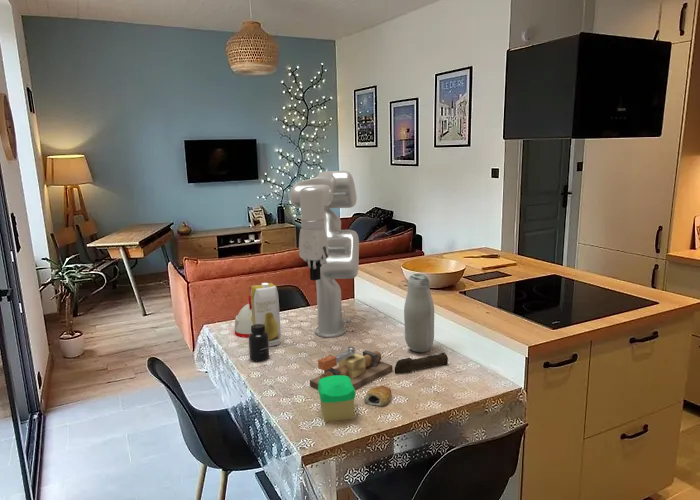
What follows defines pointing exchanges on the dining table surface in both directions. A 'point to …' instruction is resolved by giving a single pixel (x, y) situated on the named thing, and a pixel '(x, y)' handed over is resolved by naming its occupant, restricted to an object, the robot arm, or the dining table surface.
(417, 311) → the grey bottle
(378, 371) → the pipe board
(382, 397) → the pastry
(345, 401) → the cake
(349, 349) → the valve lever
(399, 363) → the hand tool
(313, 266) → the robot arm
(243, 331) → the white and red dome
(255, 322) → the juice carton
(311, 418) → the dining table surface
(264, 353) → the supplement bottle
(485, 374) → the dining table surface
